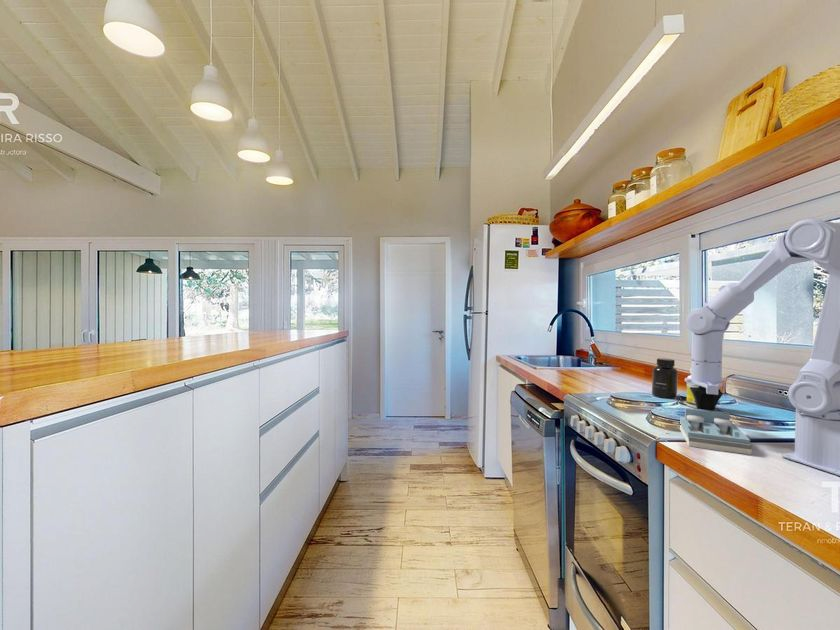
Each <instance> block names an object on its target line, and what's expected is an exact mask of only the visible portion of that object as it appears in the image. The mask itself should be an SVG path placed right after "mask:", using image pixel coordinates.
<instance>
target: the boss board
mask: <svg viewBox="0 0 840 630" xmlns="http://www.w3.org/2000/svg"><path fill="white" fill-rule="evenodd" d="M687 420H688V421H691V426H692V432H700V433H704V432H703V430H702V429H701V427H700V423H703V422H704V418H703V417H701V416H696V415H687ZM714 423H715V424H718V428H719V429H720V435H723V436H731V437H734V436H733V435H732V434H731V433H730V432H729V431H728V426H732V424H734V423H733V420H731V419H730V420H728V419H723V418H714ZM679 430H680V432H681V434H682V435H683V438H684V439H685V442H686V443H687V445H688V446H689V447H692V448H693V447H695V448H701V449H709V450H715V451H723V452H729V453H736V454H743V455H750V456H751V455H752V451H753V449H752V447H753V445H752V444H751V443H750V444H743V443H735V442H728V441H720V440H712V439H705V438H697V437H690V436H689V438H688V437H687V435H686V433H685V432H684V430H683V428H682V426H681V425H680V428H679Z"/></svg>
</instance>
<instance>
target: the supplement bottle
mask: <svg viewBox="0 0 840 630" xmlns="http://www.w3.org/2000/svg"><path fill="white" fill-rule="evenodd" d="M675 363H676V362H675V359H673V358H665V357H664V358H662V357H661V358H660V357H659V358H657V359H656V365H657V366H654V367H653V368H652V381H651V382H652V383H651V394H652V396H654V397H656V398H660V399H669V400H670V399H677V396H678V381H679V378H678V377H679V376H678V375H679V371H678V369H677V368H675Z"/></svg>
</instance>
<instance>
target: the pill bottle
mask: <svg viewBox="0 0 840 630" xmlns="http://www.w3.org/2000/svg"><path fill="white" fill-rule="evenodd" d="M689 373H690V375H688V376H687V377H686V378H691V367H690V368H689ZM690 387H695V388H698V387H699V385H696V384H693V383H691V382H686V405H687V407H688V408H692V409H697V407H696V402H695V398H694V396H693V393H692V391H691V390H690Z"/></svg>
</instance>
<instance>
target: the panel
mask: <svg viewBox="0 0 840 630" xmlns="http://www.w3.org/2000/svg"><path fill="white" fill-rule="evenodd" d="M687 415H696V416H701V417H703V418H704V422H703V423H700V427H701V429H702V430H703V432H704V433H700V432H692V426H691V421H688V420H687ZM714 418H723V419H728V420H731V419H730V412H728V411H720V410H714V411H711V410H702V409H696V408H691V407H685V408H684V417H680V424H681V426H682V428H683V430H684V432H685V433H686V435H687V437H688V438H689V436H690V437H697V438H705V439H712V440H720V441H728V442H735V443H743V444H751V439H750V438H749V437H747V435H746V434H744V433H743V432H742V431H741V429H739V428H738V426H736V424H735V423H733V424H732V426H728V431H729V432H730V433H731V434H732V435H733V436H734V437H731V436H723V435H720V429H719V428H718V424H715V423H714Z"/></svg>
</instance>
